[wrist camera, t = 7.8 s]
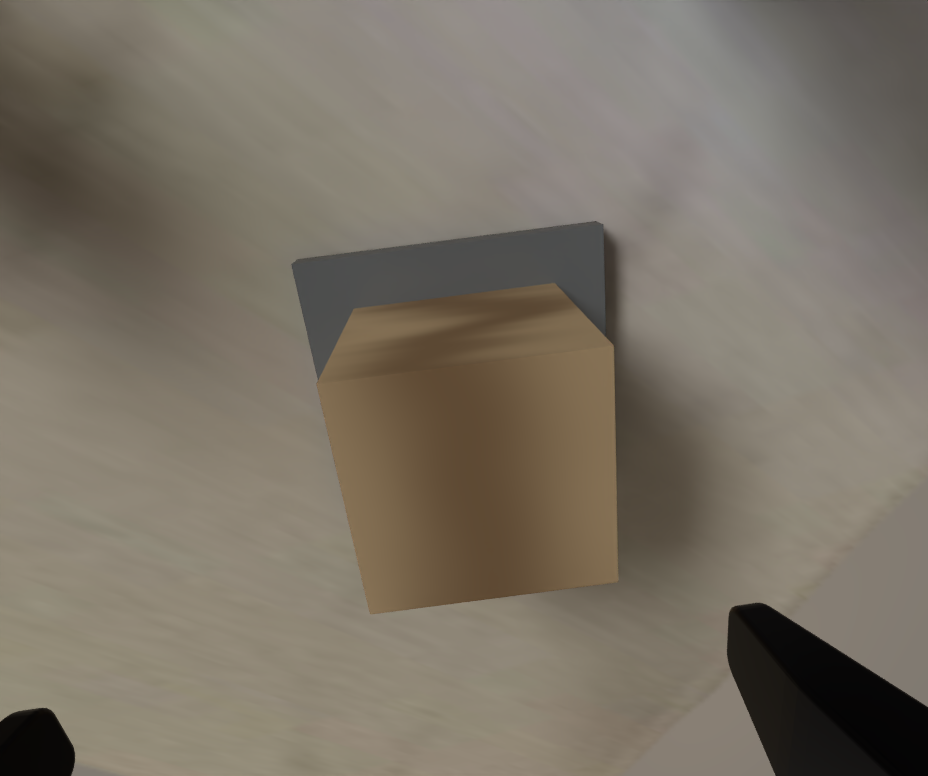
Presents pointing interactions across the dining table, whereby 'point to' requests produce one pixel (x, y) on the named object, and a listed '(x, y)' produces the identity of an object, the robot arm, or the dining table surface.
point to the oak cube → (475, 447)
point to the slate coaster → (450, 275)
